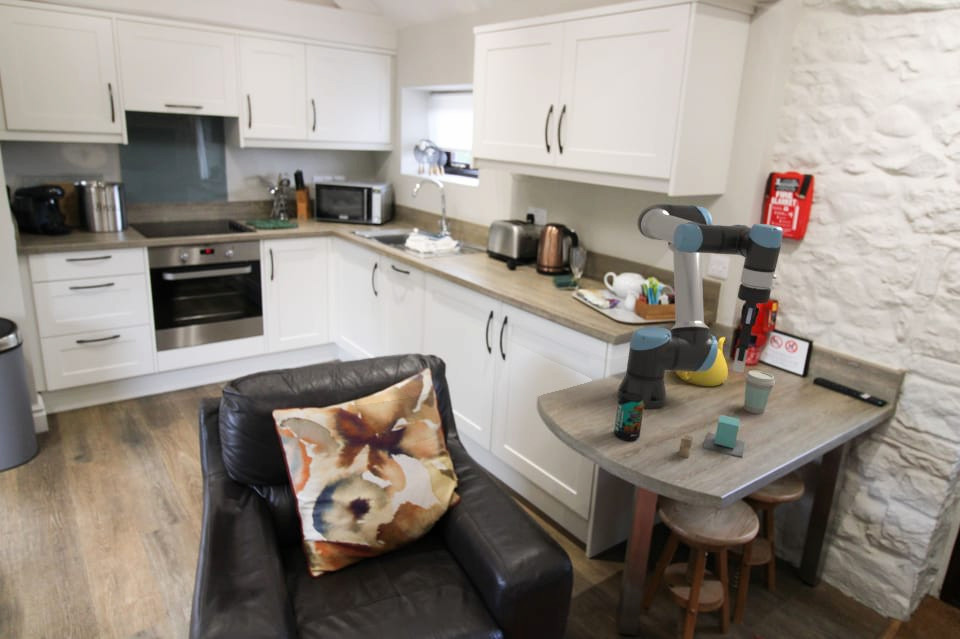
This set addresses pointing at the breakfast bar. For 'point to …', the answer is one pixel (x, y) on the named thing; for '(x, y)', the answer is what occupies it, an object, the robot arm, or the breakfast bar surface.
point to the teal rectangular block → (727, 431)
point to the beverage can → (629, 416)
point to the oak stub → (685, 446)
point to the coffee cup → (757, 391)
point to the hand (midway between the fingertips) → (738, 370)
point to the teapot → (709, 371)
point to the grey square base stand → (724, 449)
